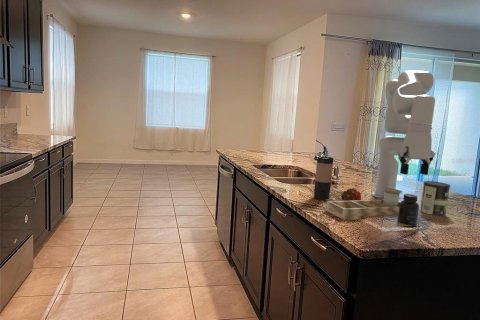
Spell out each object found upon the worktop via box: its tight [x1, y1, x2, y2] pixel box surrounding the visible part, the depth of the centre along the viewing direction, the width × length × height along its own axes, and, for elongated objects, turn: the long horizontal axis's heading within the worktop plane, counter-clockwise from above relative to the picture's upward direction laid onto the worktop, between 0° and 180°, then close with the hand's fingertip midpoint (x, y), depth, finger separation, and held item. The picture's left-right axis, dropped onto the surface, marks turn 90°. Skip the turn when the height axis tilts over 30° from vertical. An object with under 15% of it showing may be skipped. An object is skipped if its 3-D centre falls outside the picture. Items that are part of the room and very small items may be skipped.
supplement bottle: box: [397, 193, 420, 229], centre depth 140 cm, size 7×7×12 cm
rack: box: [325, 199, 401, 221], centre depth 154 cm, size 34×13×4 cm, turn 110°
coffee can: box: [419, 180, 451, 216], centre depth 159 cm, size 10×10×14 cm
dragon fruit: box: [340, 187, 362, 201], centre depth 167 cm, size 8×8×12 cm
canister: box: [383, 188, 401, 207], centre depth 157 cm, size 6×6×9 cm
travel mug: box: [313, 156, 334, 201], centre depth 174 cm, size 8×8×20 cm
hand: (413, 174), depth 138 cm, fingers open, 9 cm apart
